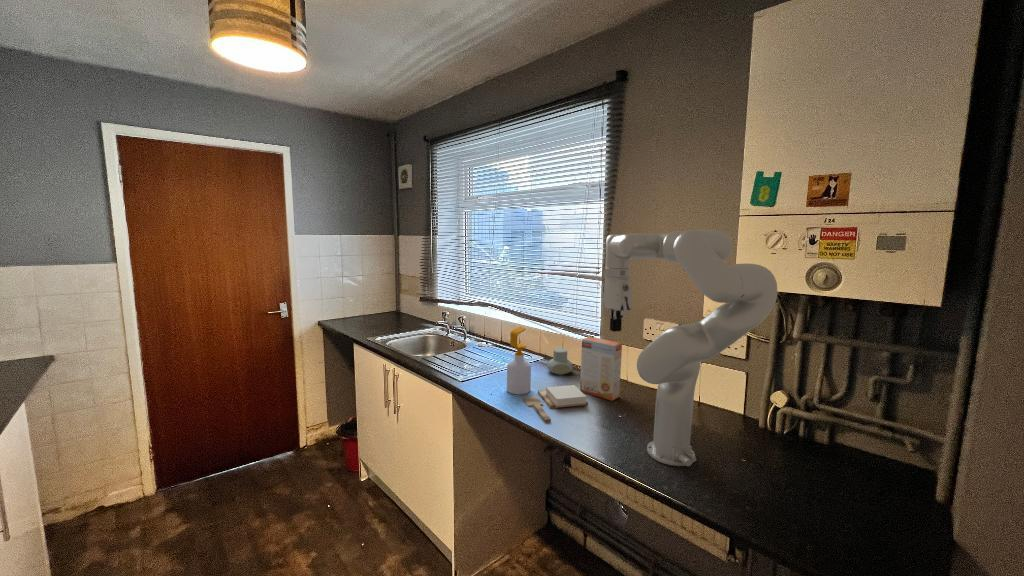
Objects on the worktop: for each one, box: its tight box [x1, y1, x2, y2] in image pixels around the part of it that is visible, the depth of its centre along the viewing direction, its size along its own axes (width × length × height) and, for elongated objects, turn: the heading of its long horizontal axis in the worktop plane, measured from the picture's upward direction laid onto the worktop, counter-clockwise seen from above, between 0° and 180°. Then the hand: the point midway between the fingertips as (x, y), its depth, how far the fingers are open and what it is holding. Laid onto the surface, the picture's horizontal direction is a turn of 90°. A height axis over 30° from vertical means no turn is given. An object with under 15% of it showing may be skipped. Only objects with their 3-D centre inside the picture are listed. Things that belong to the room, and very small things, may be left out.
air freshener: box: [546, 348, 574, 376], centre depth 183 cm, size 11×8×10 cm
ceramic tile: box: [545, 384, 587, 408], centre depth 152 cm, size 3×11×11 cm
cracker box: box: [579, 336, 623, 402], centre depth 159 cm, size 14×6×21 cm, turn 48°
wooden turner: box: [522, 395, 552, 424], centre depth 146 cm, size 20×6×1 cm, turn 15°
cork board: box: [537, 389, 589, 409], centre depth 156 cm, size 14×14×1 cm
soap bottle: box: [506, 326, 532, 396], centre depth 161 cm, size 9×9×25 cm
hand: (615, 330), depth 136 cm, fingers closed
